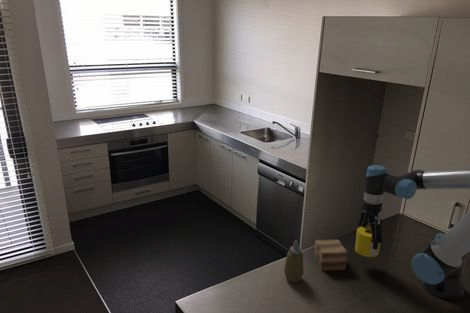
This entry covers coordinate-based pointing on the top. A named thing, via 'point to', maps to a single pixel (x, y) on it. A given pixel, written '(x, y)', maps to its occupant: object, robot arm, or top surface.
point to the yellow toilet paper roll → (364, 242)
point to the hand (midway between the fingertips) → (367, 248)
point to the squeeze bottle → (294, 264)
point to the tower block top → (330, 251)
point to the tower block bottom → (329, 264)
